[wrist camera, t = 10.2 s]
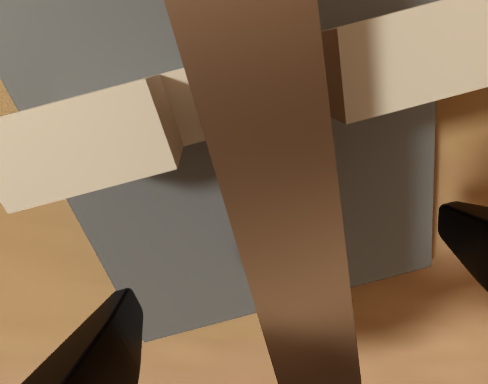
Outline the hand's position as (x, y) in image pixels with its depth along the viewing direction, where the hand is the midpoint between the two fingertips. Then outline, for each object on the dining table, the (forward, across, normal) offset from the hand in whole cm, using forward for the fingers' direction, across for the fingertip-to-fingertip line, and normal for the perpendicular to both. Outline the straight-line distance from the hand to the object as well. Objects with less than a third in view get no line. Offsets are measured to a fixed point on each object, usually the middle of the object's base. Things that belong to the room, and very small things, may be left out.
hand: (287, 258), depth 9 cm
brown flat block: (+4, 0, -4) cm, 6 cm away
